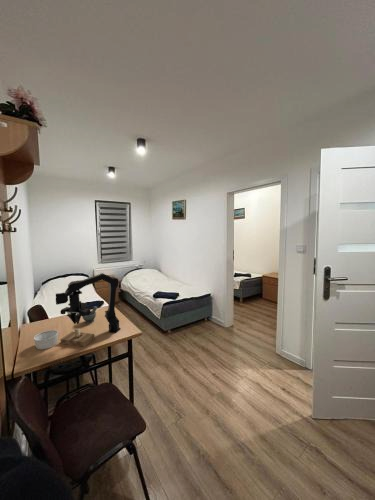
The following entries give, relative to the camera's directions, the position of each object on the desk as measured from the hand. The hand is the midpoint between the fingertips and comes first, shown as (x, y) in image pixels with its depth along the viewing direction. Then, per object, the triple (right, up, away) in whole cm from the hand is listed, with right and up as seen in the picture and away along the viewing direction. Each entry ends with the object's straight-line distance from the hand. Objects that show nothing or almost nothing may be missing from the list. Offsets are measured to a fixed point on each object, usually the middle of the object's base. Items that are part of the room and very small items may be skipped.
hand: (76, 323), depth 137 cm
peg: (0, -12, +1) cm, 12 cm away
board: (0, -12, +1) cm, 12 cm away
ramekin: (-18, -13, -3) cm, 22 cm away
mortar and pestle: (-4, -9, +29) cm, 31 cm away
